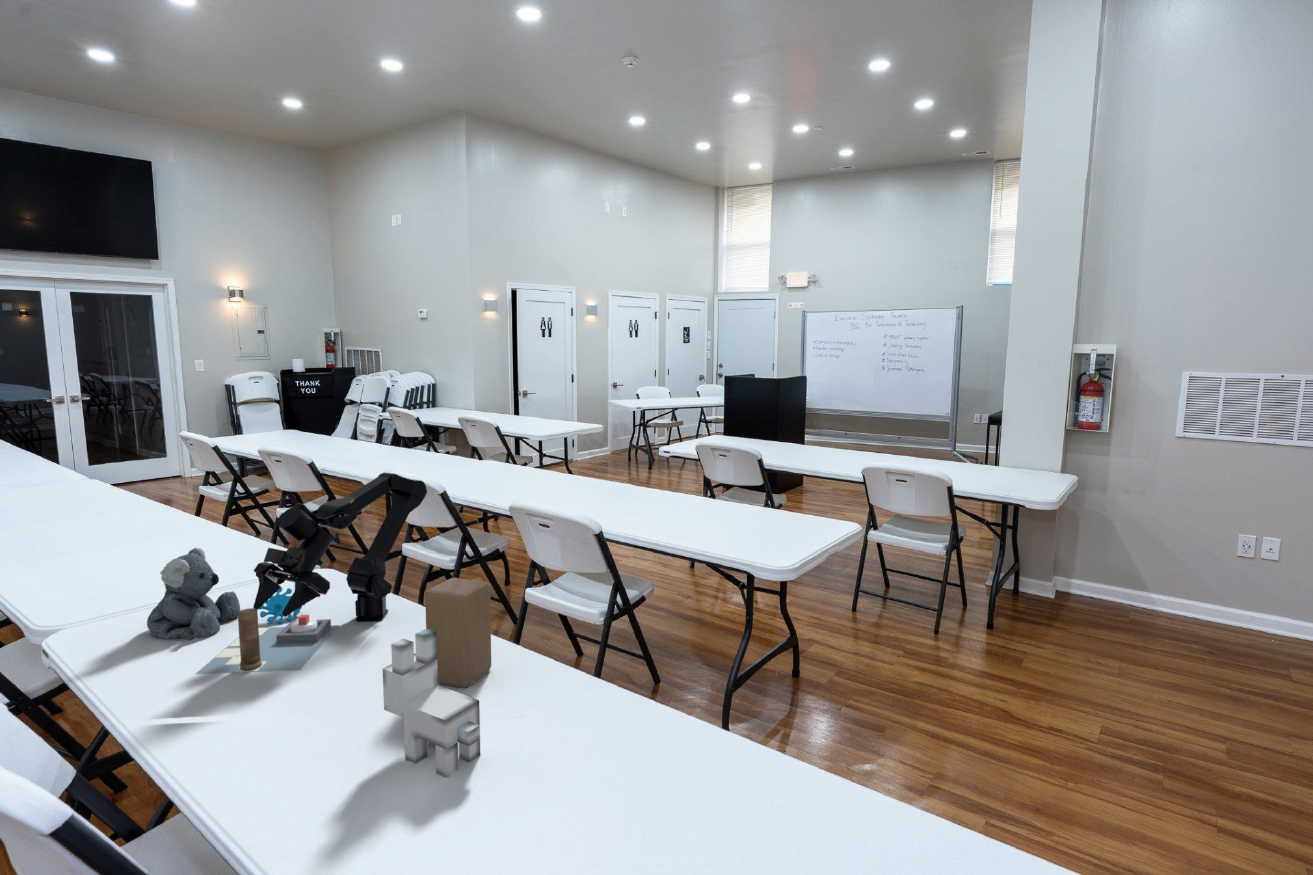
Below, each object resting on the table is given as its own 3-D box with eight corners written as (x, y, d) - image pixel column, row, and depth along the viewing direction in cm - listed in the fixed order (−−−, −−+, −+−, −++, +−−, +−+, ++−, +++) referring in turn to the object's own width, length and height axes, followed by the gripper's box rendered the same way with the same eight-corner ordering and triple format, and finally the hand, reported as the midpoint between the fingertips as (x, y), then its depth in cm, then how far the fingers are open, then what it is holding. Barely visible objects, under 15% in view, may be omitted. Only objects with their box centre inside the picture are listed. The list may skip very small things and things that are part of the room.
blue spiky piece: (258, 622, 167) (257, 586, 173) (254, 633, 171) (254, 597, 176) (307, 619, 174) (306, 584, 179) (303, 629, 178) (301, 595, 183)
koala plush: (213, 641, 161) (207, 561, 158) (129, 645, 158) (122, 564, 155) (245, 613, 178) (240, 541, 175) (169, 617, 175) (163, 543, 172)
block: (493, 669, 148) (491, 581, 146) (466, 690, 139) (464, 596, 137) (454, 661, 152) (452, 575, 149) (425, 682, 142) (422, 590, 140)
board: (339, 628, 169) (338, 617, 169) (300, 673, 145) (299, 660, 145) (249, 631, 166) (248, 620, 166) (195, 677, 143) (194, 664, 142)
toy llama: (458, 783, 109) (455, 665, 107) (385, 750, 118) (381, 640, 116) (491, 759, 116) (489, 647, 113) (420, 729, 124) (416, 625, 122)
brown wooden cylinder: (265, 661, 149) (261, 607, 147) (256, 670, 145) (253, 614, 143) (245, 662, 148) (242, 608, 147) (236, 671, 144) (232, 615, 143)
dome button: (321, 628, 166) (320, 611, 165) (312, 638, 160) (311, 620, 160) (297, 629, 165) (296, 611, 165) (287, 638, 160) (286, 621, 159)
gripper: (259, 527, 156) (214, 588, 147) (316, 537, 149) (272, 602, 140) (291, 552, 164) (250, 611, 155) (347, 562, 157) (307, 625, 148)
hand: (269, 612), depth 149 cm, fingers open, 9 cm apart
